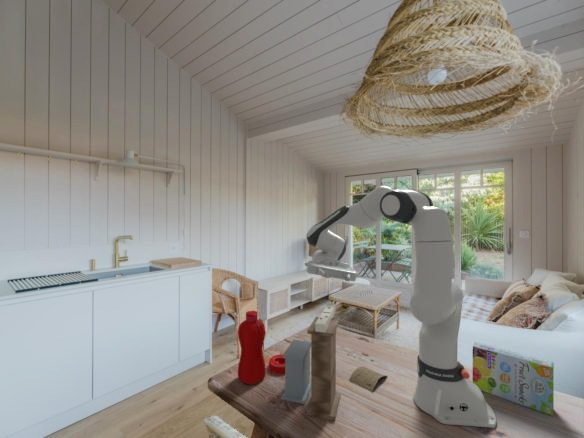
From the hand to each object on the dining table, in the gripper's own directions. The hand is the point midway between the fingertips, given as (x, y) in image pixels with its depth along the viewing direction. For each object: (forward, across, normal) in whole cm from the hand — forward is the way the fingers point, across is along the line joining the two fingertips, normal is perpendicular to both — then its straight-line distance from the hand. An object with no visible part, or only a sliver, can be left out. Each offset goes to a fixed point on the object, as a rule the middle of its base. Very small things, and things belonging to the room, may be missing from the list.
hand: (336, 277), depth 106 cm
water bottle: (+2, -23, +44) cm, 49 cm away
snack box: (+23, +61, +24) cm, 69 cm away
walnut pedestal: (+19, -1, +37) cm, 41 cm away
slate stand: (+11, -8, +39) cm, 41 cm away
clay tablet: (+7, +19, +35) cm, 41 cm away
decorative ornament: (-6, -12, +42) cm, 44 cm away
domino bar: (+12, -4, +12) cm, 17 cm away
